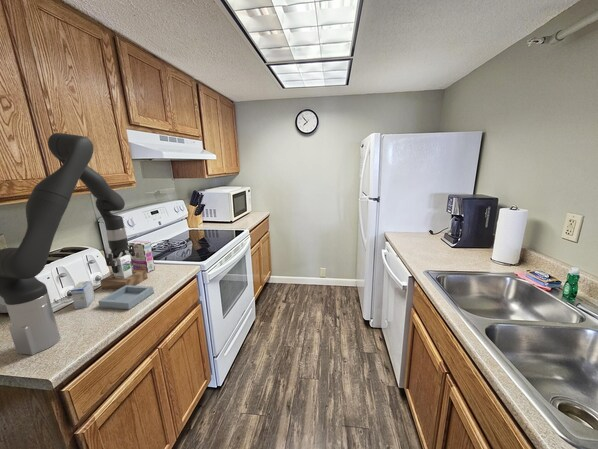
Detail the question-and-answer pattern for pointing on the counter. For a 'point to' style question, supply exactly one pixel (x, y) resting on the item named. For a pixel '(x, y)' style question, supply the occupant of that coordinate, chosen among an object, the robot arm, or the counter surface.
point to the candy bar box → (142, 256)
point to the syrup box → (124, 267)
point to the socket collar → (123, 280)
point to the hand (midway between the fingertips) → (123, 269)
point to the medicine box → (82, 294)
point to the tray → (126, 297)
